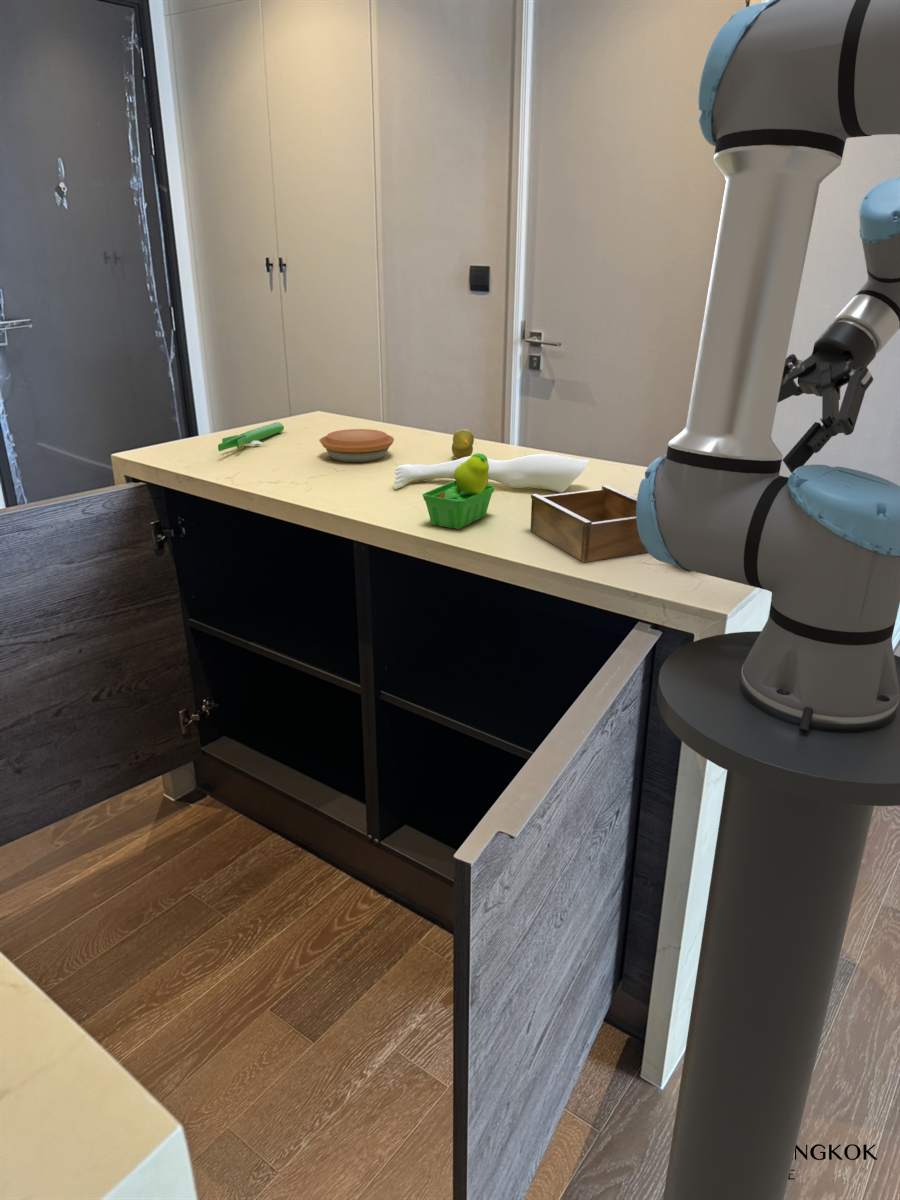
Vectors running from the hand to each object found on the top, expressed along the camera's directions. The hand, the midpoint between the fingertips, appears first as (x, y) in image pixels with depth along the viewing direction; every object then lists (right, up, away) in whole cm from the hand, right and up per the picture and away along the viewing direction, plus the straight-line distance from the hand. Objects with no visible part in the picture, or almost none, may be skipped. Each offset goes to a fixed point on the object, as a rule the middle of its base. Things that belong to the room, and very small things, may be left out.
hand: (752, 456), depth 118 cm
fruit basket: (-39, -7, +22) cm, 45 cm away
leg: (-34, +1, +41) cm, 53 cm away
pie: (-61, +10, +63) cm, 88 cm away
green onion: (-85, +14, +72) cm, 112 cm away
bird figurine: (-39, +10, +62) cm, 73 cm away
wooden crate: (-19, -11, +13) cm, 25 cm away
